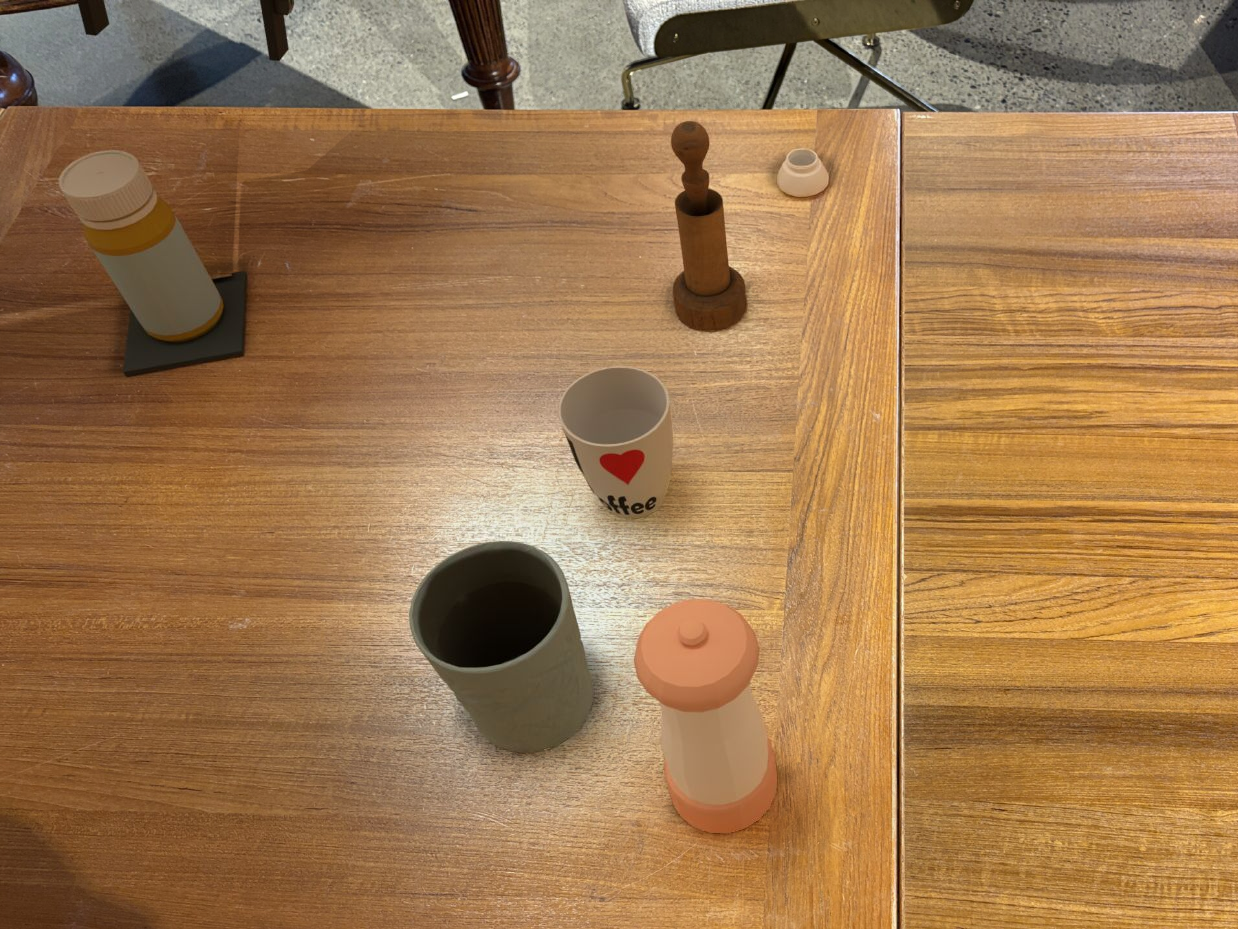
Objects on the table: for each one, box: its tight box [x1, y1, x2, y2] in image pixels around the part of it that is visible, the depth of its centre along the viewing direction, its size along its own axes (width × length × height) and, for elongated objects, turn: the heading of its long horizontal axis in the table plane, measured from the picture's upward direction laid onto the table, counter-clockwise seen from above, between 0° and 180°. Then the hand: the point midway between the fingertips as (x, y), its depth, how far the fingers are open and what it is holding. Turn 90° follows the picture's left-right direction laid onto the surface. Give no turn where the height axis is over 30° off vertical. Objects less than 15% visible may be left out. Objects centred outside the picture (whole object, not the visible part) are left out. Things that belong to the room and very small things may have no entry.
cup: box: [557, 365, 674, 520], centre depth 91 cm, size 8×8×10 cm
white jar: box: [776, 147, 830, 198], centre depth 116 cm, size 5×3×5 cm
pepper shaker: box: [633, 598, 778, 834], centre depth 73 cm, size 7×7×19 cm
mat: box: [122, 270, 248, 377], centre depth 107 cm, size 10×11×1 cm
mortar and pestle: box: [670, 120, 748, 332], centre depth 100 cm, size 7×6×18 cm
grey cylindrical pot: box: [408, 540, 595, 753], centre depth 80 cm, size 10×10×12 cm
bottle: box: [58, 149, 223, 342], centre depth 101 cm, size 7×7×15 cm
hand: (189, 42), depth 95 cm, fingers open, 13 cm apart
